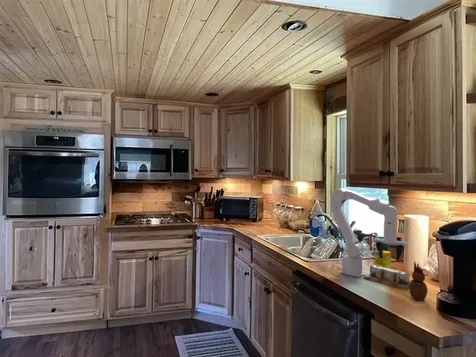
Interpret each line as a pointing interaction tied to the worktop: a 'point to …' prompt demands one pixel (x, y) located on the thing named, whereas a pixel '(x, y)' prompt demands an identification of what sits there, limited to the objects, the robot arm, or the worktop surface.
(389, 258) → the supplement box
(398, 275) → the grey long bar
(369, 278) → the rack
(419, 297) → the wooden figurine
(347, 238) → the robot arm
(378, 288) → the worktop surface
